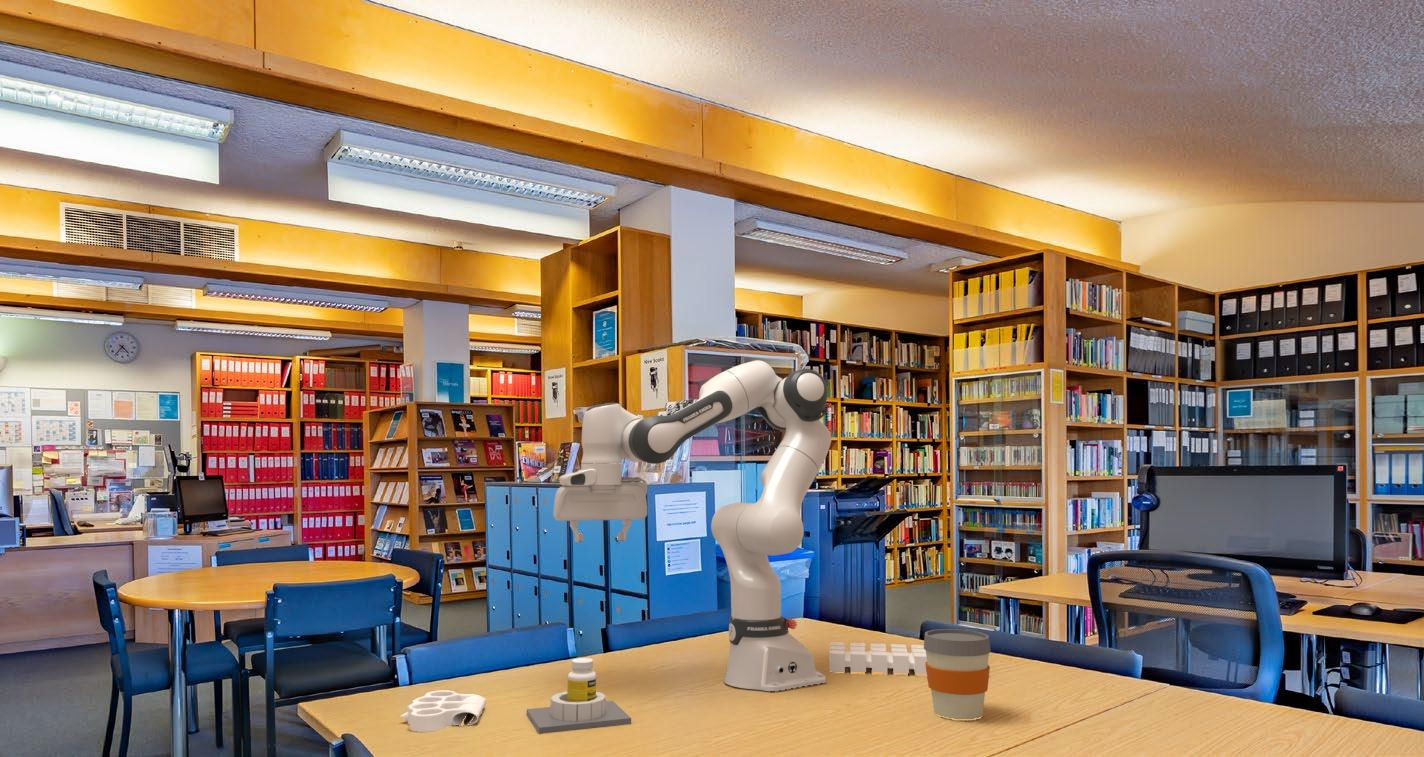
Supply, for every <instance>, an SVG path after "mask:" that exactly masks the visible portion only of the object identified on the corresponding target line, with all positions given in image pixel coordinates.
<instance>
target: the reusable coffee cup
mask: <svg viewBox="0 0 1424 757" xmlns="http://www.w3.org/2000/svg"><path fill="white" fill-rule="evenodd" d="M923 641H924V642H923V645H924V649H925V650H926V657H927V662H926V663H925V665H926V672H927V677H926V678H927V685H928V688H929V689H930V692H931V698H932V699H931V700H932V705H933V712H935V713H936V714H938V715H940V716H944V717H948V718H954V719H974V718H979V717H981V716H982V715H983V716H984V705H985V697H986V696H985V695H986V692H988V688H989V687H988V686H989V679H990V678H989V677H990V667H991V666H990V665H989V656H990V653H991V652H992V650H991V643H990V636H989V635H988V634H986V633H983V632H981V631H975V630H969V629H968V630H967V629H956V628H954V629H953V628H944V629H943V628H942V629H931V630H928V631H925V632H924V639H923ZM935 713H934V714H935Z"/></svg>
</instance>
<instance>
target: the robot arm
mask: <svg viewBox="0 0 1424 757" xmlns="http://www.w3.org/2000/svg"><path fill="white" fill-rule="evenodd" d="M828 393H829V392H828V385H827V382H826V380H825V378H824V376H822V374H820V373H819V372H818V371H816V370H814V369H811V368H803V369H797V370H795V371H792V372H791V373H789V374H788V375H787V376H786V377H784V378H782V377H780V376H778V375H777V374H776V372H775V371H774V369H773V368H772V366H771V365H770V364H769V363H767V362H765V361H763V360H757V359H756V360H752V361H751V360H750V361H747V362H744V363H741V364H738V365H736V366H733V367H731V368H729V369H726V370H724V371H722V372H720V373H718V374H717V375H715V376H713V377H711V378H710V379H709V380H708V381H706V382H705V383H703V384H702V385H701V386H700V389H699V392H698V399H697V400H695V401H694V402H692V403H690V404H689V405H686V406H685V407H683V408H682V409H679V410H677V411H676V412H674V413H672V414H669V415H651V416H648V417H644V418H642V417H640V416H638V415H636V414H633V413H631V412H630V411H628V410H627V409H625V408H623V407H622V406H621V404H620V403H618V402H606V403H599V404H595V405H590V406H589V407H587V409H586V410H585V412H584V415H583V419H582V427H581V446H582V458H581V461H580V462H581V464H580V469H579V470H574V471H571V472H569V473H565V474H563V475H561V476H560V477H559V484H560V485H561V486H560V487H559V488H557V490H556V492H555V495H554V502H553V503H554V504H553V518H554V519H555V520H556V521H559V522H569V527H570V528H571V530H572V532H573V534H574V542H575V543H583V542H584V533H580V532H579V530H578V528H577V527H578V526H579V522H580V521H581V522H582V521H585V522H586V521H622V525H624V526H623V528H622V529H621V531H620V532H617V539H616V540H617V542H626V540H627V533H628V531H629V529H630V528H631V526H632V520H644V519H646V517H647V516H648V502H647V493H648V483H647V482H646V480H645V479H643V478H642V477H640V476H635V477H632V476H629V477H628V476H623V475H622V474H623V467H622V466H623V460H624V459H625V460H627V461H630V462H635V463H647V464H651V465H655V464H657V465H659V464H662V463H664V462H666V461H668V460H669V459H671V458H672V457H673V456H674V455H675V454H676V453H677V451H678V450H679V448H680V447H681V446H682V444H684V442H686V441H687V440H689V439H690V438H692V437H693V436H695V435H697V434H699V433H701V432H702V431H704V430H707V428H710V427H711V426H714V425H716V424H720V423H725V422H728V421H732V420H733V419H736V418H739V417H741V416H742V415H744V414H747V413H749V412H750V411H752V410H754V409H756V411H757V412H758V413H759V414H760V415H761V417H762V418H763V420H764V421H765V422H766V423H767V425H769V427H771V428H772V429H774V430H778V431H785V433H784V435H783V439H782V440H781V442H780V443H779V445H778V446H777V448H776V449H775V451H774V453H773V454H772V456H771V457H770V459H769V460H768V461H767V464H766V465H765V467H764V468H763V470H762V471H761V474H760V481H761V484H762V486H763V490H762V493H761V496H760V498H759V499H758V500H757V501H756V502H754V503H752V502H734V503H730V504H727V505H724V506H721V507H719V508H718V509H717V510H716V511H715V512H714V514H713V516H712V518H711V526H710V529H711V534H712V536H713V538H714V540H715V542H716V543H717V544H718V545H719V547H720V548H721V551H722V553H723V556H724V559H725V561H726V565H727V571H728V574H729V579H730V603H731V604H730V606H731V607H730V609H731V611H730V612H731V613H730V614H731V615H730V616H729V622H728V624H729V625H728V638H729V644H730V645H729V654H728V660H727V661H728V662H727V667H726V672H725V675H724V678H723V682H724V683H725V684H726V685H728V686H731V687H734V688H739V689H747V690H759V691H764V692H765V691H766V692H770V691H775V692H780V691H779V690H781V691H786V690H785V689H787V690H792V689H791V688H793V689H797V688H796V687H799V688H803V687H802V686H805V687H808V686H807V685H811V686H814V685H813V684H817V685H821V684H820V683H823V684H826V683H827V677H826V676H825V675H824V674H823V673H822V672H820V671H818V670H817V669H816V663H815V658H814V654H813V653H812V651H811V650H810V649H809V648H808V647H807V646H805V645H804V644H803V643H802V642H800V641H799V640H798V639H797V638H795V636H793V635H792V634H790V633H789V629H790V630H795V629H796V628H797V627H798V621H796V620H795V619H792V618H788V619H787V617H784V616H783V615H782V583H781V581H780V580H781V579H780V578H779V577H778V575H777V574H776V573H775V571H774V570H773V568H772V566H771V564H770V561H769V557H768V556H780V555H785V554H790V553H793V552H794V551H795V550H796V549H798V548H799V546H800V545H801V543H802V541H803V538H804V530H805V529H804V523H803V521H802V518H801V515H800V513H801V512H800V511H801V507H802V503H803V501H804V498H805V496H806V494H807V492H808V491H809V489H810V487H811V485H812V484H813V482H814V480H815V479H816V477H817V475H818V474H819V471H820V470H821V469H822V466H823V464H824V462H825V460H826V458H827V455H828V452H829V450H830V447H831V443H832V434H831V431H830V430H829V428H828V427H827V426H826V425H825V424H824V423H823V422H821V419H822V418H823V417H825V415H826V414H827V413H826V412H827V401H828ZM825 682H826V683H825Z"/></svg>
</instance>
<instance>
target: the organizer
mask: <svg viewBox="0 0 1424 757" xmlns="http://www.w3.org/2000/svg"><path fill="white" fill-rule="evenodd" d="M849 644H850V645H849V646H850V650H846V642H843V641H839V642H836V641H835V642H834V641H830V645H829V653H828V654H829V655H828V656H829V657H828V658H829V659H828V665H829V666H828V667H829V669H828V670H829V671H832V672H845V673H846V668H850V673H851V672H866V673H867V668H870V669H871V668H872V670H871V673H872V672H883V673H887V674H888V669H892V668H893V671H892V674H893V673H909V674H910V670H913V669H914V671H913V673H914V672H915V673H917V674H918V673H919V674H927V672H926V665H925V663H926V662H927V657H926V650H925V649H924V644H911V645H910V652H908V650H907V649H908V648H907V645H906V644H901V643H900V644H898V643H897V644H896V643H890V651H887V647H886V643H873V642H872V643H870V650H869V651H867V650H866V642H850V643H849ZM829 671H828V672H829Z"/></svg>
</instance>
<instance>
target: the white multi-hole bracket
mask: <svg viewBox="0 0 1424 757" xmlns="http://www.w3.org/2000/svg"><path fill="white" fill-rule="evenodd" d="M486 705H487V699H486V698H485V697H484V696H481V695H479V694H473V693H457V692H456V691H453V690H447V689H446V690H445V689H444V690H443V689H442V690H433V691H428V692H425V695H422V696H419V697H416V698H415V699H413V700H412V701H411V704H408V705H407V707H406V709H407V711H406V712H404V713H403V714H401V715H400V716H399V715H398V717H399V718H401V719H404V720H406V721H407V725H409V724H410V725H409V729H410V731H411V730H412V731H411V732H413V731H417V732H416V733H430V732H429V731H433V732H437V731H440V730H439V729H441V730H443V729H444V727H445V728H448V727H447V726H449V727H452V726H451V725H459V726H458V727H462V726H461V723H462V721H463V719H464V718H465V716H466V715H467V713H468V714H472V715H473V716H474V715H475V716H474V718H473V720H472V721H471V723H469V722H468V723H469V725H470V726H473V725H474V724H476V723H477V722H479V718H480V716H481V715H482V714H483V710H484V709H485V708H484V707H486ZM467 716H468V715H467ZM442 728H443V729H442ZM436 730H437V731H436Z"/></svg>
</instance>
